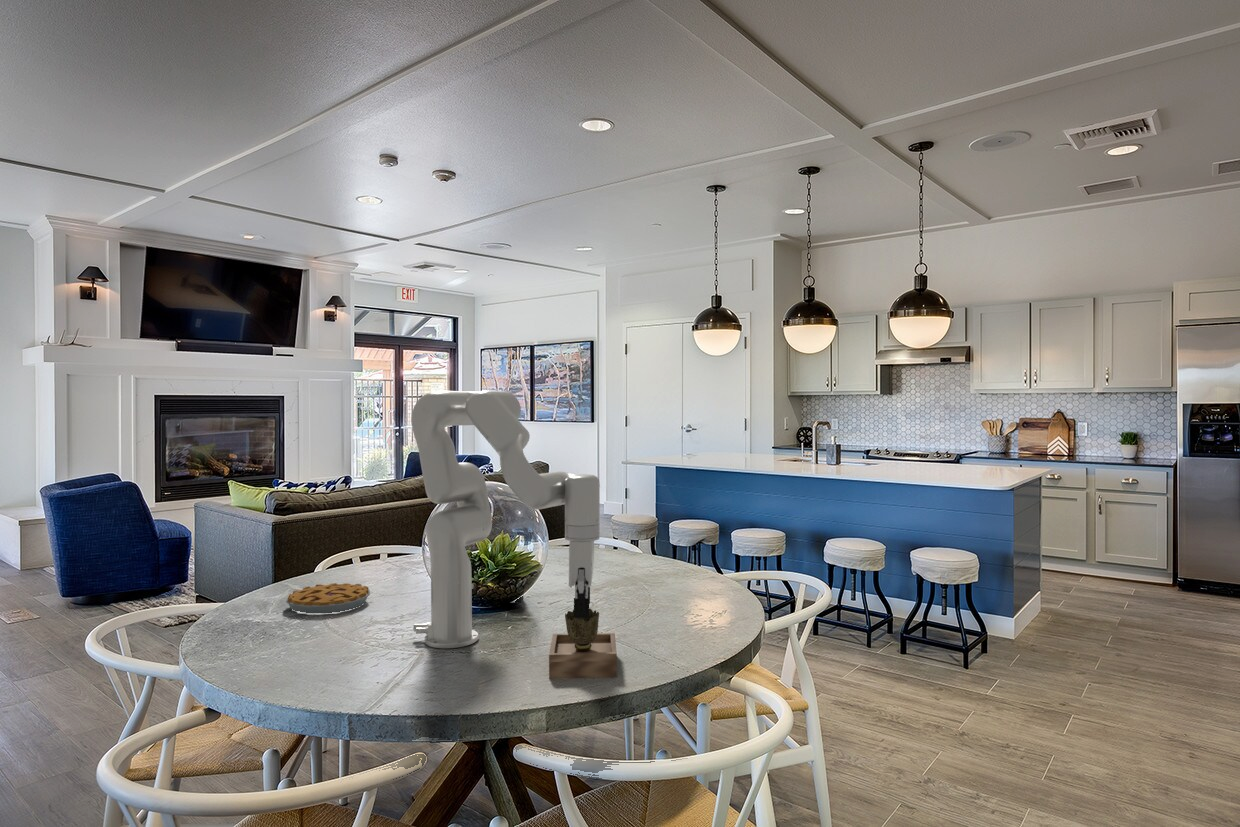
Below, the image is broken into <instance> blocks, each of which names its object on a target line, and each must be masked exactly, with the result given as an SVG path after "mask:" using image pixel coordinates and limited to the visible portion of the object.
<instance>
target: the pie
mask: <svg viewBox="0 0 1240 827" xmlns="http://www.w3.org/2000/svg"><path fill="white" fill-rule="evenodd" d="M370 595H371V590H370V589H369V587H368V586H366V585H364V586H362V583H361V584H360V583H356V584H351V583H345V582H344V583H342V584H341V583H340V584H339V583H337V582H336V583H335V582H334V583H330V584H315V586H313V587H312V586H305V587H303V588H302V589H301V590H300V589H299V590H293V592H292V593H289V594H288V596H287V598H286V601H285V602H286V604H288V606H289V607H290V610H291V609H293V610H295V611H300V612H306V613H332V612H340V611H345V610H349V609H353V608H356V607H359V606H361V605H362V604H363V603H364V604H366V601H367V599H368V597H369V596H370ZM362 606H363V605H362ZM362 606H361V607H362ZM359 608H360V607H359Z"/></svg>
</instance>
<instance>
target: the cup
mask: <svg viewBox="0 0 1240 827" xmlns="http://www.w3.org/2000/svg"><path fill="white" fill-rule="evenodd" d="M564 618H565V626H566V632H567V633H568V636H569V639H570V640H571V641H572V642H573V643H575V649H576V650H577V651H581V652H584V651H588V650H590V649H591V646H592V645H591V642H593V641H594V640H595V638H596V636H597V633H599V632H598V629H599V621H600V620H599V619H600V613H599V611H597V610H596V609H595V610H594V611H593V609H592V608H589V617H588V618H575V617H574V609H573V610H572V611H570V610H568V611H567V612H566V613H565V614H564Z"/></svg>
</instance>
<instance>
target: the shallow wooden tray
mask: <svg viewBox="0 0 1240 827" xmlns="http://www.w3.org/2000/svg"><path fill="white" fill-rule="evenodd" d="M615 633H616V632H597V636H596V638H595V640H594V641H593V642H591V645H592V646H591V649H590V650H588V651H584V652H581V651H577V650H576V649H575V643H573V642H572V641H571V640H570V639H569V636H568V632H567V633H566V632H564V633H552V636H551V642H550V647H549V652H548V653H549V654H548V679H550V680H551V679H602V678H603V679H604V678H605V679H606V678H607V679H610V678H611V679H612V678H613V679H615V678H618V676H617V674H618V673H617V672H618V670H617V669H618V668H617V667H618V666H617V665H618V663H617V662H618V661H617V658H618V657H617V643H616V634H615Z"/></svg>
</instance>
